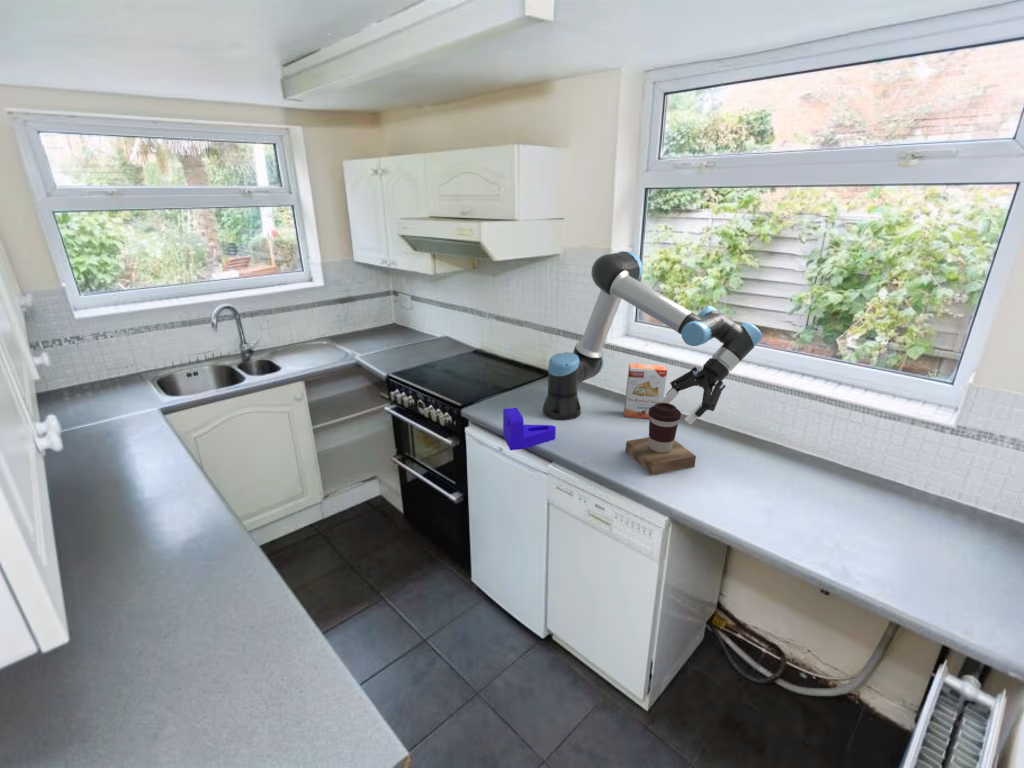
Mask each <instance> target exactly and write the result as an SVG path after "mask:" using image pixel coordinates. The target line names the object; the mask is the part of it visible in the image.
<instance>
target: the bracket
mask: <svg viewBox="0 0 1024 768" xmlns="http://www.w3.org/2000/svg"><path fill="white" fill-rule="evenodd" d="M524 423H525V422H524V417H523V415H522V413H521V412H520V410H519V409H518V407H509V408H508V407H507V408H503V411H502V433H503V434H502V436H503V438H504V439H503V440H505V442H506V444H507V446H508V449H509V450H510V451H515V450H524V449H527V448H532V447H535V446H537V445H541V443H542V444H545V443H548V442H551V440H552V441H555V440H556V433H557V432H556V430H557V428H556V426H555V425H551V424H549V425H548V424H545V425H544V424H524ZM554 439H555V440H554ZM544 442H545V443H544Z"/></svg>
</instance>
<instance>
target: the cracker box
mask: <svg viewBox="0 0 1024 768" xmlns="http://www.w3.org/2000/svg"><path fill="white" fill-rule="evenodd" d="M667 375H668V369H667V366H666V365H661V364H645V363H634V362H633V363H631V362H629V364H628V372H627V381H626V391H625V398H624V399H625V400H624V409H623V413H624V417H625V418H634V417H635V418H638V419H646V418H647V419H649V420H650V416H649V409H650V407H652V406H655V404H657V403H659V402H660V401H661V400H662V399H663V398H664V397H665V391H666V390H665V389H666V381H667V377H668V376H667Z"/></svg>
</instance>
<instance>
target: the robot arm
mask: <svg viewBox="0 0 1024 768" xmlns="http://www.w3.org/2000/svg"><path fill="white" fill-rule="evenodd" d="M591 267H592V268H591V279H592V281H593V283H594V284H595V285H596V286H597V287H598V288H599V289H600V290H599V292H598V293H599V294H598V296H597V298H596V302H595V304H594V307H593V309H592V311H591V315H590V317H589V320H588V323H587V325H586V327H585V330H584V333H583V335H582V338H581V341H579V342H576V344H575V346H574V349H573V352H569V351H568V352H566V351H565V352H558V353H556V354H554V355H552V356H551V357H550V358H549V361H548V367H547V370H548V376H547V394H546V397H545V399H544V402H543V405H542V413H543V415H544V416H546V417H548V418H550V419H554V420H559V421H568V420H574V419H576V418H579V417H580V415H581V413H582V411H581V409H582V407H581V404H580V399H579V396H578V385H579V384H580V383H581V382H584V381H586V380H589V379H592V378H593V377H595V376H597V375H598V374H599V373H600V372H601V371H602V369H603V367H604V365H605V364H604V363H605V361H604V360H605V359H604V357H603V356H604V351H603V346H604V344H605V341H606V339H607V336H608V334H609V331H610V328H611V327H612V324H613V321H614V320H615V317H616V314H617V312H618V309H619V307H620V304H621V301H622V300H623V301H625V302H627V303H628V304H630V305H632V306H634V307H635V308H636V309H638V310H640V311H641V312H643V313H645V314H647V315H648V316H650V317H652V318H653V319H655V320H656V321H658V322H660V323H661V324H663V325H665V326H666V327H668V328H669V329H672V330H673V331H675V332H677V333H678V334H680V335H681V339H682V340H683V342H684V343H685V344H686V345H688V346H690V347H698V346H700V345H704V344H706V343H708V342H709V341H711V340H713V339H716V340H717V341H718V342H720V343H721V344H722V345H721V346H720V347H719V348H718V349H717V350H716V351H715V352H714V353H713V354H712V355H711V357H709V359H708V360H706V362H705V363H704V364H703V367H702V369H701V370H699V369H698V368H697V367H696V366H694V367H693V368H691V370H690V371H688V372H686V373H684V374H683V375H680V376H679V377H677V378H675V379H674V380H672V381H670V383H669V384H670V385H671V389H669V390H668V391H667V393H666V394H665V395H664V398H663V399H662V400H661V401H660V402H659V403H669V404H671V402H672V401H673V400H674V399H675V398H676V397H677V396H678V395H679V392H681V391H683V390H686V389H690V388H692V387H697V386H698V387H699V388H702V389H703V393H702V401H701V403H700V404H698V405H697V406H696V407H695V408H694V409H693V410H692V411H691V412H689V414H688V415H687V416H686V417H685V418H684V421H685V422H686V423H687V424H688V425H689V426H691V425H693V423H694V422H695V421H696V420H697V419H698V418H701V417H702V415H704V413H706V411H711V412H714V411H715V410H716V406H717V404H718V401H719V400H720V397H721V394H722V392H723V390H724V389H725V388H726V384H725V383H724V379H725V378H727V376H729V374H730V372H732V370H734V369H735V368H736V367H737V366H738V365H739V363H740V362H741V361H742V360H743V359H744V358H746V356H747V355H748V354H750V352H751V351H753V349H754V348H755V346H757V344H758V343H759V342H760V341H761V339H762V338H763V334H762V331H761V330H760V329H759V328H758V327H757V326H756V325H754V324H752V323H751V322H747V321H745V322H743V323H741V324H739V323H736V321H734V320H732V319H731V318H729V317H728V316H727V315H726V314H724V313H723V312H721V311H720V310H719V309H717V308H715V307H713V306H711V305H707V306H705V307H704V308H703V309H702V310H701V311H700V312H699V313H698V315H697V314H696V313H694V312H692V311H691V310H689V309H687V308H685V307H684V306H682V305H680V304H679V303H677V302H676V301H674V300H672V299H671V298H668V297H667V296H665V295H663V294H661V293H659V292H658V291H656V290H654V289H652V288H651V287H649V286H648V285H646V284H644V283H642V282H641V281H640V279H641V277H642V274H643V268H644V267H643V263H642V260H641V259H640V257H639V256H638V254H636V253H634V252H632V251H618V252H615V253H610V254H609V253H607V254H603V255H601V256H600V257H598V258H597V259H596V260H595V261H594V263H593V264H592V266H591Z"/></svg>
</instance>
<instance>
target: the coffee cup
mask: <svg viewBox="0 0 1024 768" xmlns="http://www.w3.org/2000/svg"><path fill="white" fill-rule="evenodd" d="M649 416H650V419H649V420H648V421H649V422H648V437H649V447H650V449H652V450H653V451H655V452H659V453H667V452H669V451H671V449H672V445H673V441H674V440H676V436H677V435H676V434H677V431H678V430H677V429H678V427H679V422H678V421H679V420H680V419H681V416H682V412H681V410H679V409H678V408H677V406H675V405H674V404H671V403H657V404H655V406H652V407H650V409H649Z"/></svg>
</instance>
